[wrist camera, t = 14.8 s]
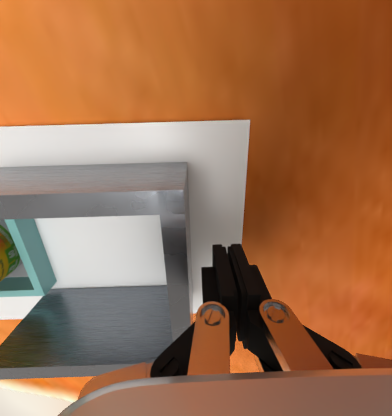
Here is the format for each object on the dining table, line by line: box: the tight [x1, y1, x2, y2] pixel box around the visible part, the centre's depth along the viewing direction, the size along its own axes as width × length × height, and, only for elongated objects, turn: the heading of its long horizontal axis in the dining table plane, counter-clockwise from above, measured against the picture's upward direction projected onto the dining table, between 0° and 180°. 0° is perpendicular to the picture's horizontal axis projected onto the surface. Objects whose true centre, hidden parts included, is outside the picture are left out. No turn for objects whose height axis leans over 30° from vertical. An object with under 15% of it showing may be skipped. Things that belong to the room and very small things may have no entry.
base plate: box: [0, 120, 250, 320], centre depth 15 cm, size 24×16×3 cm, turn 91°
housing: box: [0, 162, 193, 379], centre depth 13 cm, size 12×11×6 cm
